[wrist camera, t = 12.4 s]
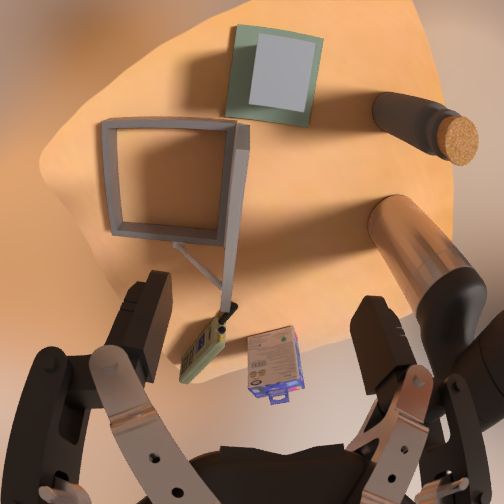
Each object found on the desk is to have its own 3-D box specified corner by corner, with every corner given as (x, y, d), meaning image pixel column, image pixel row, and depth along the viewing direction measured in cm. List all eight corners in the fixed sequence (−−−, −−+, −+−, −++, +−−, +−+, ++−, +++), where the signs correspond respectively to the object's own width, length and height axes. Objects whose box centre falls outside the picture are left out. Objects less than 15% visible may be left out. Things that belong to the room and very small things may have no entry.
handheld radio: (179, 357, 60) (226, 296, 48) (192, 361, 61) (243, 302, 49) (176, 381, 55) (225, 326, 42) (189, 385, 56) (243, 332, 43)
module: (300, 51, 24) (315, 43, 18) (291, 105, 28) (303, 112, 22) (256, 44, 24) (259, 33, 18) (249, 98, 28) (248, 104, 22)
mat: (322, 39, 24) (323, 38, 23) (306, 127, 31) (307, 128, 30) (237, 25, 23) (237, 24, 22) (225, 115, 30) (225, 116, 29)
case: (110, 118, 29) (42, 148, 17) (249, 122, 30) (249, 150, 19) (119, 233, 39) (79, 297, 28) (234, 244, 41) (228, 319, 29)
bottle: (401, 138, 31) (469, 180, 19) (366, 123, 30) (431, 157, 18) (413, 102, 28) (488, 128, 15) (378, 84, 27) (451, 98, 15)
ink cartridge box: (255, 349, 57) (256, 409, 46) (245, 336, 54) (245, 399, 42) (299, 339, 55) (307, 400, 44) (292, 324, 52) (300, 389, 40)
